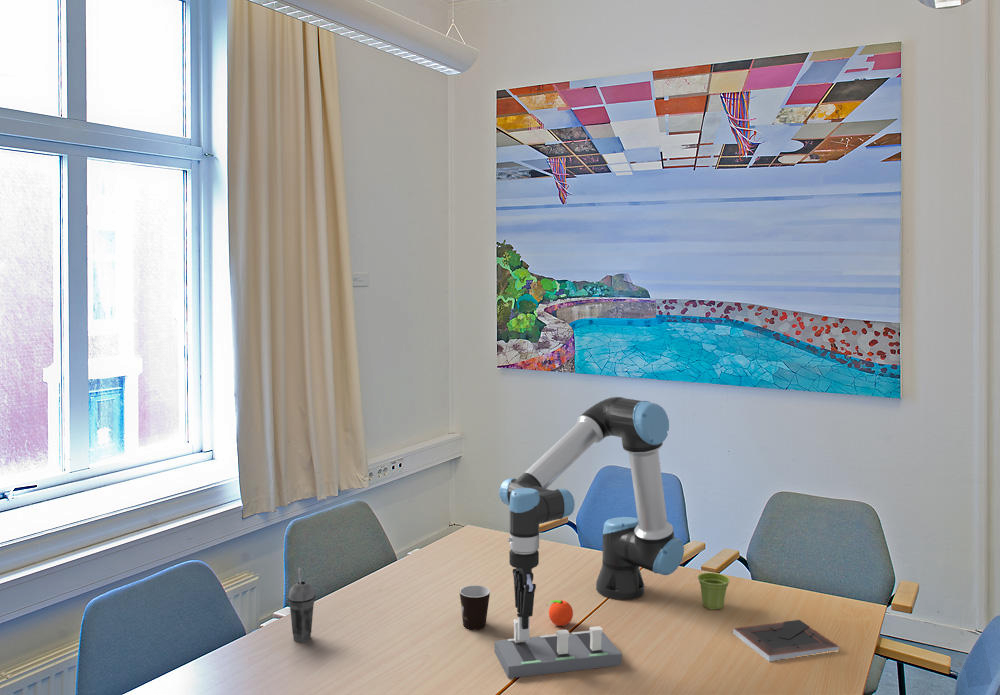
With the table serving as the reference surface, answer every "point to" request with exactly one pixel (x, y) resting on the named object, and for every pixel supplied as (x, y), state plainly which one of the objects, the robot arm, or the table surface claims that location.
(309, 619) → the beverage cup
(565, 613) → the clementine
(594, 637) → the switch
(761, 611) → the table surface
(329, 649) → the table surface
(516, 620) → the switch
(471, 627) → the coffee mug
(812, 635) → the brown book
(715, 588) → the plant pot
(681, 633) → the table surface
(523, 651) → the switch panel
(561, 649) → the switch middle
